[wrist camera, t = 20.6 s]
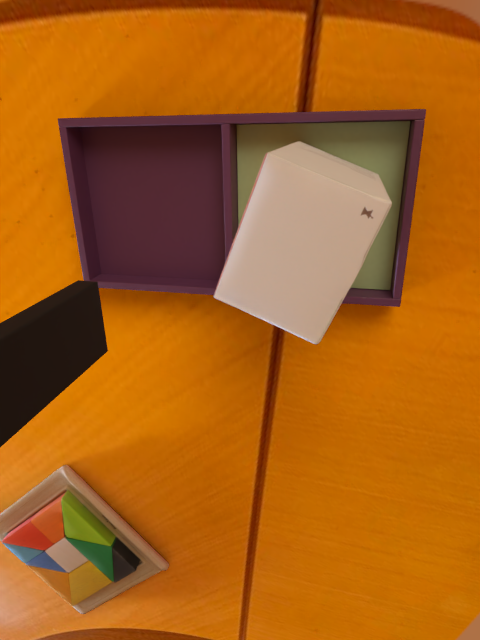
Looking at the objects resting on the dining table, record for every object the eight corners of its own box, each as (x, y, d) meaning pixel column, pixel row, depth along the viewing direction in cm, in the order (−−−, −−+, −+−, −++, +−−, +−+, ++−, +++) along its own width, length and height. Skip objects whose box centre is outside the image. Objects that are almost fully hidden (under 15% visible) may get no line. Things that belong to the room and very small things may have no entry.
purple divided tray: (76, 118, 36) (57, 118, 33) (420, 110, 30) (426, 109, 28) (99, 277, 41) (84, 287, 39) (397, 295, 35) (400, 307, 33)
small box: (297, 139, 32) (266, 146, 20) (381, 173, 32) (397, 202, 20) (256, 242, 35) (209, 299, 24) (331, 274, 35) (320, 348, 23)
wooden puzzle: (176, 558, 54) (165, 585, 50) (85, 603, 61) (70, 629, 58) (72, 457, 51) (54, 479, 48) (-10, 517, 59) (-30, 540, 56)
